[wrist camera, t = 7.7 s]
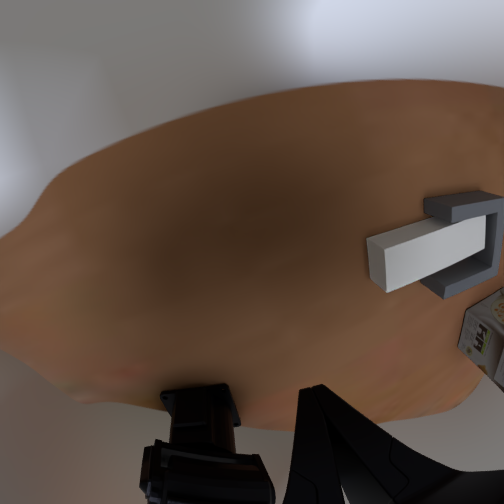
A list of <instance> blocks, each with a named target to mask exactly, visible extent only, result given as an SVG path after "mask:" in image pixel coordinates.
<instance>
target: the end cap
mask: <svg viewBox="0 0 504 504" xmlns="http://www.w3.org/2000/svg"><path fill="white" fill-rule="evenodd" d="M424 213H426V214H429V215H432V216H434V217H437V218H440V219H442V220H445V221H448V222H450V223H454V222H458V221H463V220H467V219H471V218H475V217H480V216H484V215H486V227H485V248H484V249H482V250H480V251H479V252H477V253H475V254H473V255H471V256H469V257H467V258H465V259H463V260H461V261H458V262H456V263H454V264H452V265H450V266H448V267H446V268H444V269H442V270H439V271H437V272H435V273H433V274H431V275H428V276H426V277H424V278H422V279H421V283H422V284H423V285H425V286H426V287H427V288H429V289H430V290H431V291H433V292H434V293H435V294H437V295H438V296H440V297H441V298H442V299H446V298H448V297H451V296H453V295H455V294H458V293H460V292H462V291H464V290H467V289H469V288H471V287H473V286H475V285H478V284H480V283H482V282H484V281H486V280H488V279H490V278H492V277H494V276H496V275H497V273H498V268H499V262H500V255H501V248H502V240H503V231H504V197H502V196H498V195H495V194H491V193H487V192H484V191H474V192H467V193H459V194H452V195H445V196H438V197H432V198H425V199H424Z"/></svg>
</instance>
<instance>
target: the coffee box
mask: <svg viewBox="0 0 504 504" xmlns="http://www.w3.org/2000/svg"><path fill="white" fill-rule="evenodd" d="M458 348H459V349H460V350H461V351H462V352H463V353H464V354H465V355H466V356H467V357H468V358H469V359H470V360H472V361H473V362H474V363H475V364H476V365H477V366H478V367H479V368H480V369H481V370H482V371H483V372H484V373H485V374H486V375H487V376H488V377H489V378H490V379H491V380H492V381H493V382H494V383H495V384H496V385H497V386H498V387H499V388H500V389H501V390H502V391H503V392H504V287H503V288H501V289H500V290H498V291H497V292H495V293H494V294H492V295H491V296H489V297H487V298H486V299H484V300H483V301H481V302H479V303H478V304H476V305H474V306H473V307H471V308H469V309H467V310H466V313H465V318H464V323H463V328H462V332H461V336H460V340H459V344H458Z"/></svg>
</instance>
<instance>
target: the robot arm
mask: <svg viewBox="0 0 504 504" xmlns="http://www.w3.org/2000/svg"><path fill="white" fill-rule="evenodd" d="M222 389H225V390H222ZM165 396H166V397H165ZM160 399H161V401H162V402H163V404H164V406H165V407H166V409H167V411H168V412H169V414H170V416H171V417H172V418H171V428H170V438H169V443H167V442H162V440H158V439H156V440H155V443H154V446H152V445H151V446H148V447H145V448H144V453H143V460H142V468H141V476H140V485H139V487H140V489H141V490H142V491H143V492H144V493H145V498H146V499H147V502H148V503H147V504H275V499H276V496H275V489H274V486H273V483H272V481H271V479H270V477H269V475H268V473H267V471H266V468H265V466H264V464H263V462H262V460H261V457H260V456H259V454H252V455H248V454H236V448H235V438H234V428H233V427H239V426H240V425H241V420H240V417H239V415H238V412H237V409H236V406H235V403H234V401H233V398H232V395H231V392H230V389H229V386H228V385H226V384H220V385H214V386H207V387H199V388H191V389H183V390H173V391H163V392H161V394H160ZM341 486H342V488H343V490H344V492H345V494H346V496H347V499H348V501H349V503H350V504H504V470H495V471H478V472H465V471H459V470H455V469H452V468H450V467H447V466H445V465H443V464H441V463H439V462H436V461H434V460H432V459H430V458H428V457H426V456H424V455H422V454H420V453H418V452H416V451H414V450H412V449H411V448H409V447H408V446H406V445H405V444H403V443H401V442H400V441H399V440H397V439H396V438H394V437H393V438H392V436H391V435H390V434H389V433H387V432H386V431H384V430H383V429H382V428H380V427H379V426H378V425H376V424H375V423H373V422H372V421H371V420H369V419H368V418H367V417H365V416H364V415H363V414H361V413H360V412H359V411H357V410H356V409H355V408H353V407H352V406H351V405H349V404H348V403H347V402H345V401H344V400H343V399H342V398H340V397H339V396H338V395H336V394H335V393H334V392H333V391H331V390H330V389H329V388H327V387H326V386H325V385H323V384H320V385H316V386H312V387H311V388H310V387H308V388H304V389H300V390H299V395H298V406H297V416H296V425H295V434H294V442H293V450H292V458H291V465H290V472H289V478H288V484H287V489H286V493H285V497H284V500H283V503H282V504H345V501H344V496H343V492H342V488H341Z"/></svg>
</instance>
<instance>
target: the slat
mask: <svg viewBox="0 0 504 504" xmlns="http://www.w3.org/2000/svg"><path fill="white" fill-rule="evenodd" d="M485 227H486V215H484V216H480V217H475V218H471V219H467V220H463V221H458V222H454V223H450V222H448V221H445V220H442V219H440V218H437V217H431V218H428V219H425V220H422V221H419V222H416V223H412V224H409V225H406V226H403V227H400V228H397V229H394V230H391V231H388V232H384V233H381V234H378V235H375V236H372V237H369V238H366V241H367V250H368V260H369V272H370V279H371V280H372V281H373V282H375V283H376V284H377V285H378V286H379V287H380V288H382V289H383V290H384V291H385V292H386V293H388V292H391V291H393V290H395V289H398V288H400V287H403V286H405V285H408V284H410V283H412V282H415V281H417V280H419V279H422V278H424V277H426V276H428V275H431V274H433V273H435V272H437V271H439V270H442V269H444V268H446V267H448V266H450V265H452V264H454V263H456V262H458V261H461V260H463V259H465V258H467V257H469V256H471V255H473V254H475V253H477V252H479V251H480V250H482V249H484V248H485Z"/></svg>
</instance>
